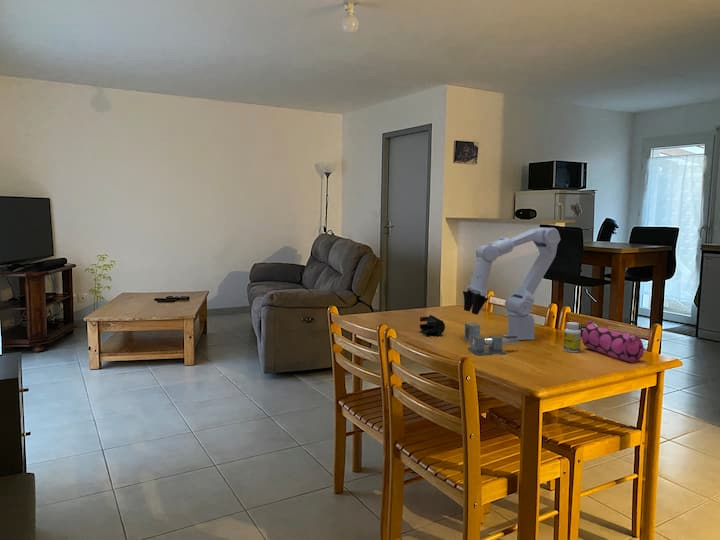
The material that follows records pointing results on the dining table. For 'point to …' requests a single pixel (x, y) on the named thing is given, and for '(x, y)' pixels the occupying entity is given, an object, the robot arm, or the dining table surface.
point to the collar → (471, 331)
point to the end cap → (432, 326)
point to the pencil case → (612, 342)
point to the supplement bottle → (572, 337)
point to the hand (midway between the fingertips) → (470, 312)
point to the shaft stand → (490, 344)
